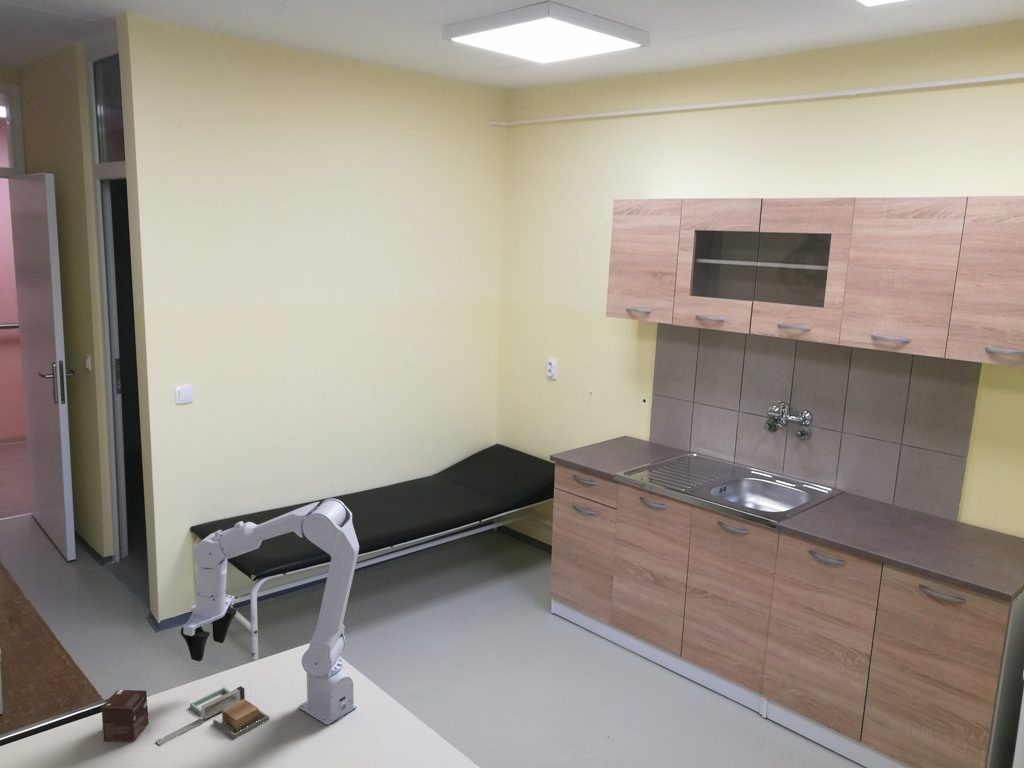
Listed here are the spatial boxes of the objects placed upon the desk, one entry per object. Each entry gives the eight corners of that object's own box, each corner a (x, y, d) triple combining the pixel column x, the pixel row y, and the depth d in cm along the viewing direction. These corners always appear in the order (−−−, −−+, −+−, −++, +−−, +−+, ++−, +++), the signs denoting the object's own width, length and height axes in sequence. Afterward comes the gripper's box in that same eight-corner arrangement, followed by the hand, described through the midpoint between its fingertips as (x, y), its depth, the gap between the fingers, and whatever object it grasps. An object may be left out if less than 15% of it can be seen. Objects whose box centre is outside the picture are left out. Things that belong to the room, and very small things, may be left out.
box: (133, 743, 145) (131, 708, 144) (102, 741, 145) (100, 707, 144) (149, 723, 151) (147, 690, 150) (119, 722, 151) (117, 688, 150)
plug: (258, 721, 153) (258, 708, 152) (236, 733, 149) (236, 720, 148) (244, 711, 156) (244, 698, 155) (222, 723, 152) (221, 710, 151)
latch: (244, 699, 159) (244, 688, 158) (205, 719, 152) (204, 708, 151) (241, 696, 160) (240, 686, 159) (201, 717, 152) (201, 705, 152)
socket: (269, 719, 153) (268, 716, 153) (185, 766, 139) (185, 762, 139) (238, 699, 159) (238, 696, 159) (155, 742, 145) (155, 738, 145)
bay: (236, 698, 160) (236, 695, 160) (202, 715, 154) (202, 712, 153) (224, 690, 162) (224, 687, 162) (190, 707, 156) (190, 703, 156)
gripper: (214, 572, 164) (211, 629, 166) (171, 601, 150) (168, 663, 152) (244, 579, 162) (240, 636, 165) (202, 609, 148) (199, 671, 151)
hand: (208, 650), depth 159 cm, fingers open, 7 cm apart
